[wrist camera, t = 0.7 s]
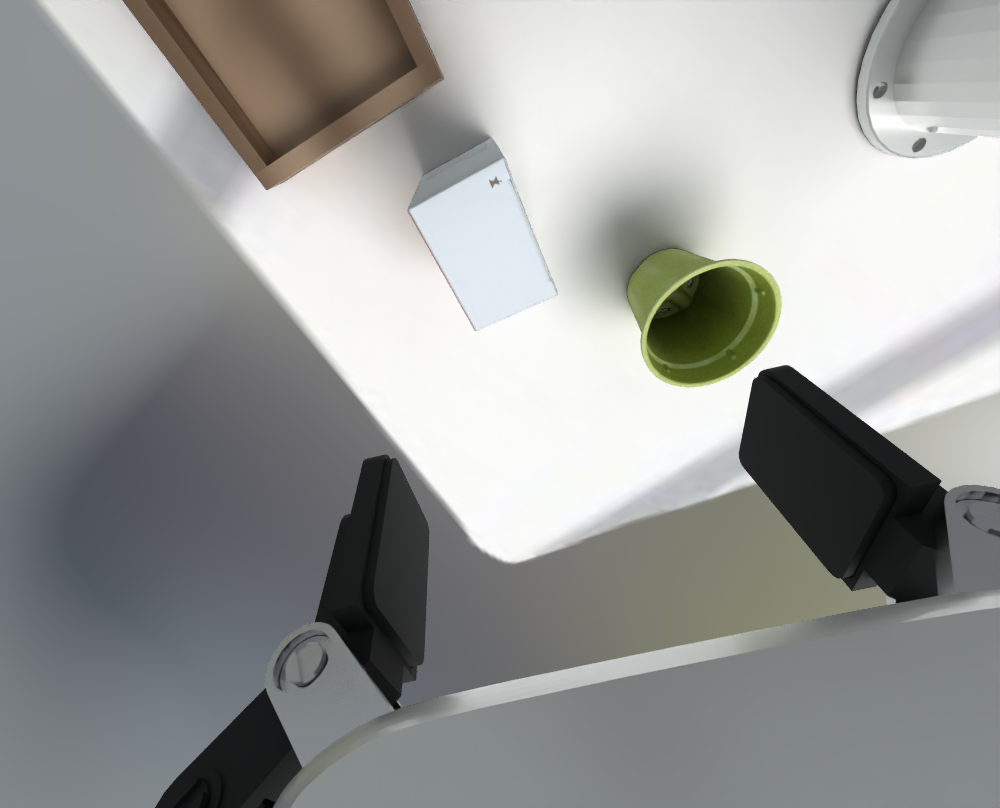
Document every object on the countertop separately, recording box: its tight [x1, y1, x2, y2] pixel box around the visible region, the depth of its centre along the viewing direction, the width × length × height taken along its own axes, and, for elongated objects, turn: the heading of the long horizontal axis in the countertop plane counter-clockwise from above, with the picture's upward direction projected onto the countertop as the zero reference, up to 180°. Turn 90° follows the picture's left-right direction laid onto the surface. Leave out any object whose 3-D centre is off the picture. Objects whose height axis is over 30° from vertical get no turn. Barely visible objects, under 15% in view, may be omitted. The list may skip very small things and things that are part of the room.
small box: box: [408, 138, 558, 331], centre depth 27 cm, size 8×6×10 cm
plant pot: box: [627, 249, 782, 387], centre depth 32 cm, size 9×9×9 cm
